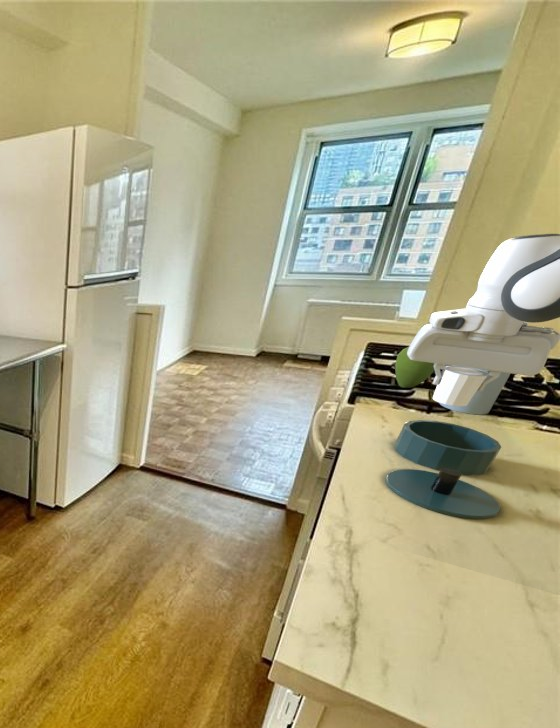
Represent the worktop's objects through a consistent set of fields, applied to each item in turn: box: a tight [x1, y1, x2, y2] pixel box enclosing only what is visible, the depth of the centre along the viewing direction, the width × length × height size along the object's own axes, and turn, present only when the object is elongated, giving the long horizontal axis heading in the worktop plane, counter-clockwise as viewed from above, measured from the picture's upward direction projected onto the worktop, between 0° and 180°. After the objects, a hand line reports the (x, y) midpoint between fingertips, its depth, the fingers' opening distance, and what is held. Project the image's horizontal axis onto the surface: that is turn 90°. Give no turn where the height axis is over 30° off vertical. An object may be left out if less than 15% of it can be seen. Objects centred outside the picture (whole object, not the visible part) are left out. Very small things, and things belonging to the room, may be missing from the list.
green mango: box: [394, 346, 435, 389], centre depth 126 cm, size 9×8×12 cm
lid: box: [385, 468, 501, 520], centre depth 82 cm, size 15×15×5 cm
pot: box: [393, 419, 502, 476], centre depth 93 cm, size 14×14×5 cm
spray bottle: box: [438, 322, 529, 416], centre depth 111 cm, size 9×9×25 cm
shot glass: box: [431, 365, 487, 406], centre depth 103 cm, size 7×7×7 cm
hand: (456, 386), depth 103 cm, fingers closed on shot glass, 5 cm apart
